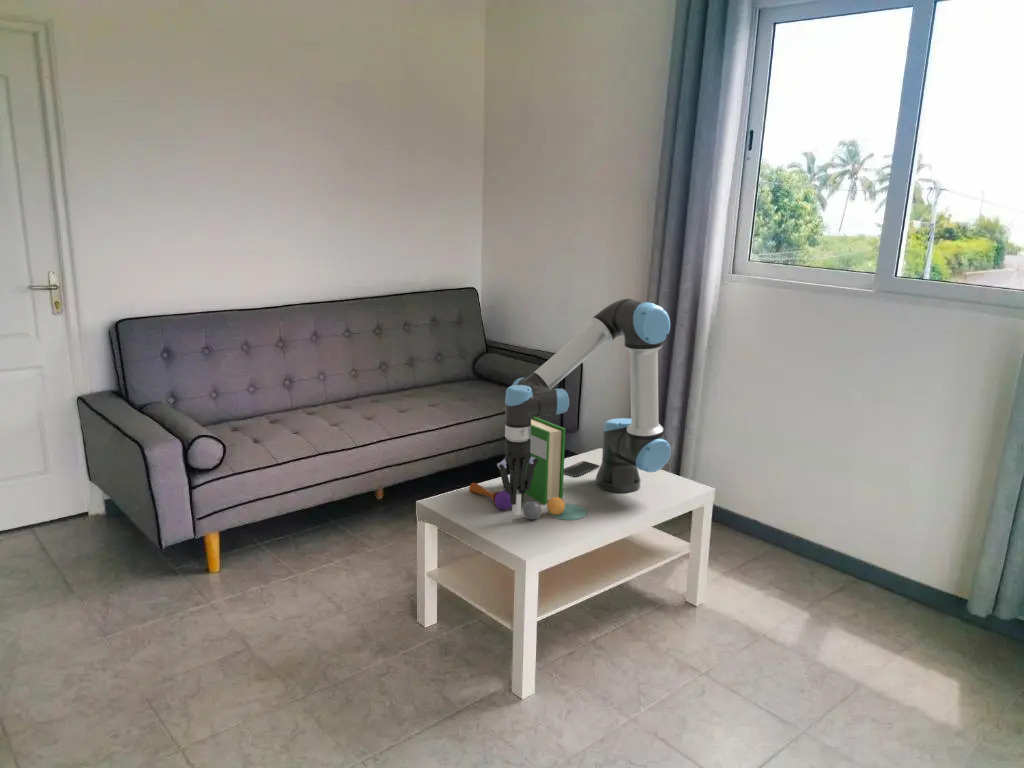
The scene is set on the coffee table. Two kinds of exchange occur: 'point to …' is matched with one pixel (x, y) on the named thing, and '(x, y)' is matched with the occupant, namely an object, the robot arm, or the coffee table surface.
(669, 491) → the coffee table surface
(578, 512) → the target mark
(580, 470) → the phone
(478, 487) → the kendama
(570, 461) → the coffee table surface
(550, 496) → the hardback book
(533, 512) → the gray ball
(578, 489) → the coffee table surface
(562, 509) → the orange ball
